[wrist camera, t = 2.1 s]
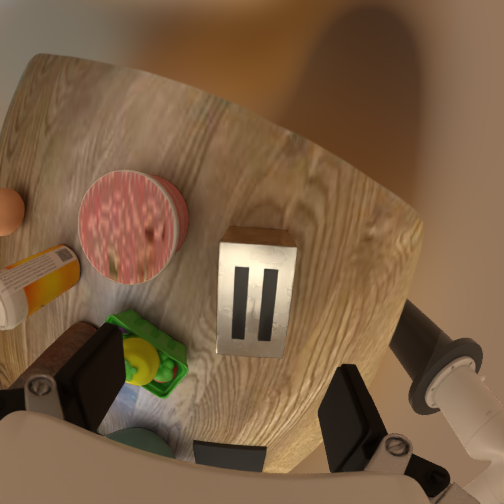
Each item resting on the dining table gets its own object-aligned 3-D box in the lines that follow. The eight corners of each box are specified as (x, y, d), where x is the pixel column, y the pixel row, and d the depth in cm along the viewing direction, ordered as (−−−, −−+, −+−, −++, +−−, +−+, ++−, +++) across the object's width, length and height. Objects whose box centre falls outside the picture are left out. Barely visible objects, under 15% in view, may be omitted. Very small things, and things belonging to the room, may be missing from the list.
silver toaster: (287, 230, 30) (298, 247, 22) (277, 327, 33) (281, 367, 25) (229, 225, 30) (218, 241, 22) (224, 323, 33) (216, 362, 25)
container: (115, 256, 31) (80, 277, 23) (116, 171, 29) (77, 170, 21) (195, 265, 31) (175, 292, 23) (200, 173, 29) (180, 170, 21)
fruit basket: (108, 333, 34) (68, 379, 23) (130, 289, 32) (84, 332, 21) (173, 377, 35) (151, 434, 25) (204, 339, 34) (184, 399, 23)
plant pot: (180, 416, 38) (163, 474, 26) (201, 468, 42) (192, 514, 30) (91, 402, 38) (63, 445, 27) (124, 455, 43) (107, 494, 31)
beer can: (48, 268, 32) (-22, 308, 17) (59, 235, 31) (-21, 266, 16) (76, 293, 33) (8, 344, 18) (88, 260, 31) (10, 305, 17)
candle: (94, 366, 36) (32, 451, 17) (65, 332, 35) (-10, 406, 15) (119, 349, 35) (50, 447, 15) (86, 311, 33) (-2, 393, 14)
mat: (266, 446, 39) (266, 450, 38) (259, 476, 43) (259, 479, 42) (193, 440, 39) (192, 444, 38) (198, 470, 43) (197, 474, 42)
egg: (30, 181, 29) (-13, 185, 20) (36, 225, 30) (-6, 239, 22) (7, 191, 29) (-32, 198, 20) (13, 233, 31) (-25, 246, 22)
